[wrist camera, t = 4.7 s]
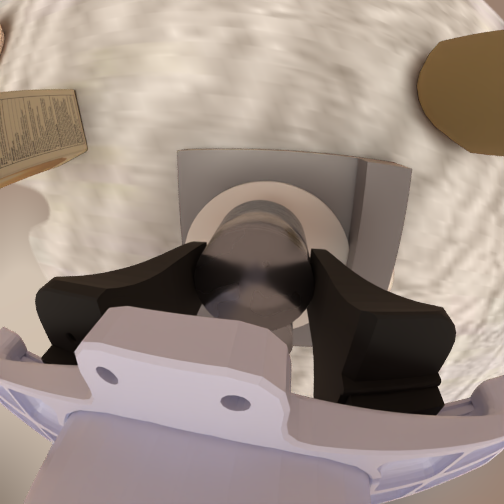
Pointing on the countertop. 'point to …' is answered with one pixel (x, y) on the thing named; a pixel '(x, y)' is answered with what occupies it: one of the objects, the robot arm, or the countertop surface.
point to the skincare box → (38, 132)
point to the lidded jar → (1, 39)
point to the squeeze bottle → (467, 91)
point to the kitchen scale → (302, 204)
